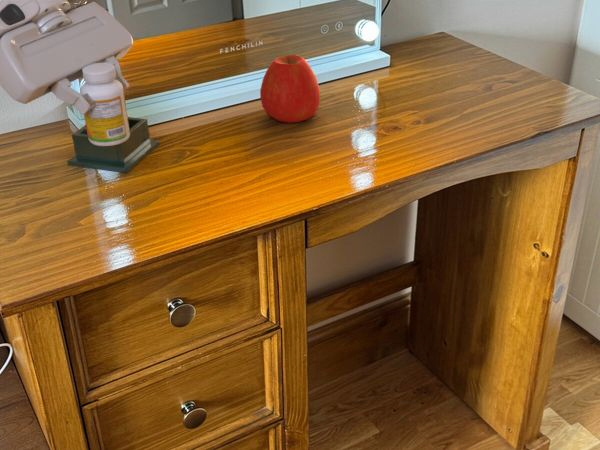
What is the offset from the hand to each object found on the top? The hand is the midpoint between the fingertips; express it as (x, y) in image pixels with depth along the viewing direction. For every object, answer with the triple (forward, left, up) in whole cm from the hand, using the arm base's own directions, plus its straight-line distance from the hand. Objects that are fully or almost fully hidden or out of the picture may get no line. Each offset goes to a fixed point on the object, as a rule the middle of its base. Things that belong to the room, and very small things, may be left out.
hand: (107, 100), depth 98 cm
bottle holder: (-10, +15, -16) cm, 24 cm away
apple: (+12, +37, -16) cm, 42 cm away
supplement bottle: (-1, 0, -6) cm, 6 cm away
